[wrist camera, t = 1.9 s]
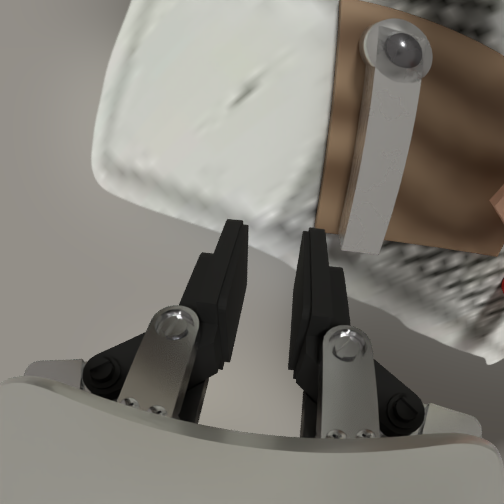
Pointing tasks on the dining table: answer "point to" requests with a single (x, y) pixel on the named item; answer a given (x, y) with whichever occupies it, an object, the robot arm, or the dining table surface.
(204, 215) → the dining table surface
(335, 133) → the board
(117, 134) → the dining table surface
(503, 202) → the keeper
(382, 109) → the link
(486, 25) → the dining table surface
